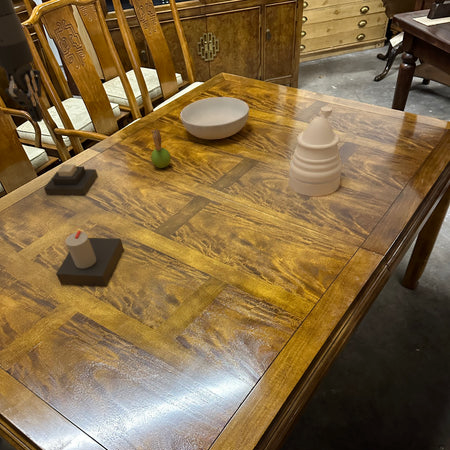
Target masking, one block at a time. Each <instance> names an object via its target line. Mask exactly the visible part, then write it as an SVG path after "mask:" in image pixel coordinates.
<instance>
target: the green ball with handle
mask: <svg viewBox="0 0 450 450" xmlns="http://www.w3.org/2000/svg"><path fill="white" fill-rule="evenodd" d="M151 134H152V140H153V144H154V149H153V150H152V153H151V154H150V160H151V163H152V164H153V165H154V166H155V167H156V168H159V169H165V168H167V167H168V166H169V165H170V163H171V161H172V157H171V153H170V151H168V149H167V148H164V147H162V135H161V132H160V130H159V129H155V130H151Z"/></svg>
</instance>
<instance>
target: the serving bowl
mask: <svg viewBox="0 0 450 450" xmlns="http://www.w3.org/2000/svg"><path fill="white" fill-rule="evenodd" d="M249 115H250V106H249V105H248V104H247V103H246V102H245V101H244V100H242V99H239V98H235V97H229V96H215V97H214V96H213V97H207V98H202V99H198V100H196V101H193V102H191V103H189V104H187V105H186V106H184V107H183V109H182V110H181V112H180V115H179V116H180V120H181V123H182V125H183V127H184V128H185V130H186V131H187V132H188V133H189V134H191V136H193V137H196V138H199V139H203V140H220V139H221V140H222V139H225V138H229V137H231V136H233V135H236V134H237V133H239V132H240V131H241V130H242V129H243V128H244V127H245V125H246V123H247V122H248V119H249Z"/></svg>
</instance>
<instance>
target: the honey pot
mask: <svg viewBox="0 0 450 450" xmlns="http://www.w3.org/2000/svg"><path fill="white" fill-rule="evenodd" d="M332 113H333V107H331V106H322V107H320V114H321V116H316V117H315V118H313V119H312V120H311V121H310V122H309V123H308V124H307V126H306V127H305V129H304V130H303V131H301V132H300V133H299V134H298V135H297V137H296V143H297V146H296V147H294V151H293V155H292V157H291V159H290V162H289V168H288V186H289V188H290V189H291V190H292V191H293V192H294V193H297V194H300V195H302V196H305V197H323V196H328V195H331V194H332V193H334V192H336V191H337V190H338V189H339V188H340V185H341V176H342V170H343V162H342V160H341V159H342V158H341V155H340V149H339V147H338V144H339V143H340V140H341V139H340V135H339V134H338V132H335V131H334V130H333V128H332V126H331V124H330V122H329V121H328V120H327V119H328V118H329V117H330V116H331V115H332Z"/></svg>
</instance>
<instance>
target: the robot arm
mask: <svg viewBox="0 0 450 450" xmlns="http://www.w3.org/2000/svg"><path fill="white" fill-rule="evenodd" d="M33 61H34V55H33V53H32V50H31V47H30V44H29V41H28V39H27V36H26V33H25V30H24V28H23V25H22V22H21V20H20V18H19V15H18V14H17V11H16V8H15V5H14V2H13V0H0V68H2V69H4V70H5V73H6V78H7V81H8V82H9V87H8V88H5V94H6V95H7V96H8V97H9V98H11V100H13V101H14V102H15V103H16V104H17V105H18V106H19V107H21V108H23V107H26V109H27V111H28V113H29V116H30V118H31V120H32V122H33V123H41V122H42V121H43V120H44V116H43V112H42V110H41V107H40V104H39V103H40V99H39V98H42V75H41V71H40V70H39V69H34V68H33V66H32V63H33Z"/></svg>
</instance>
